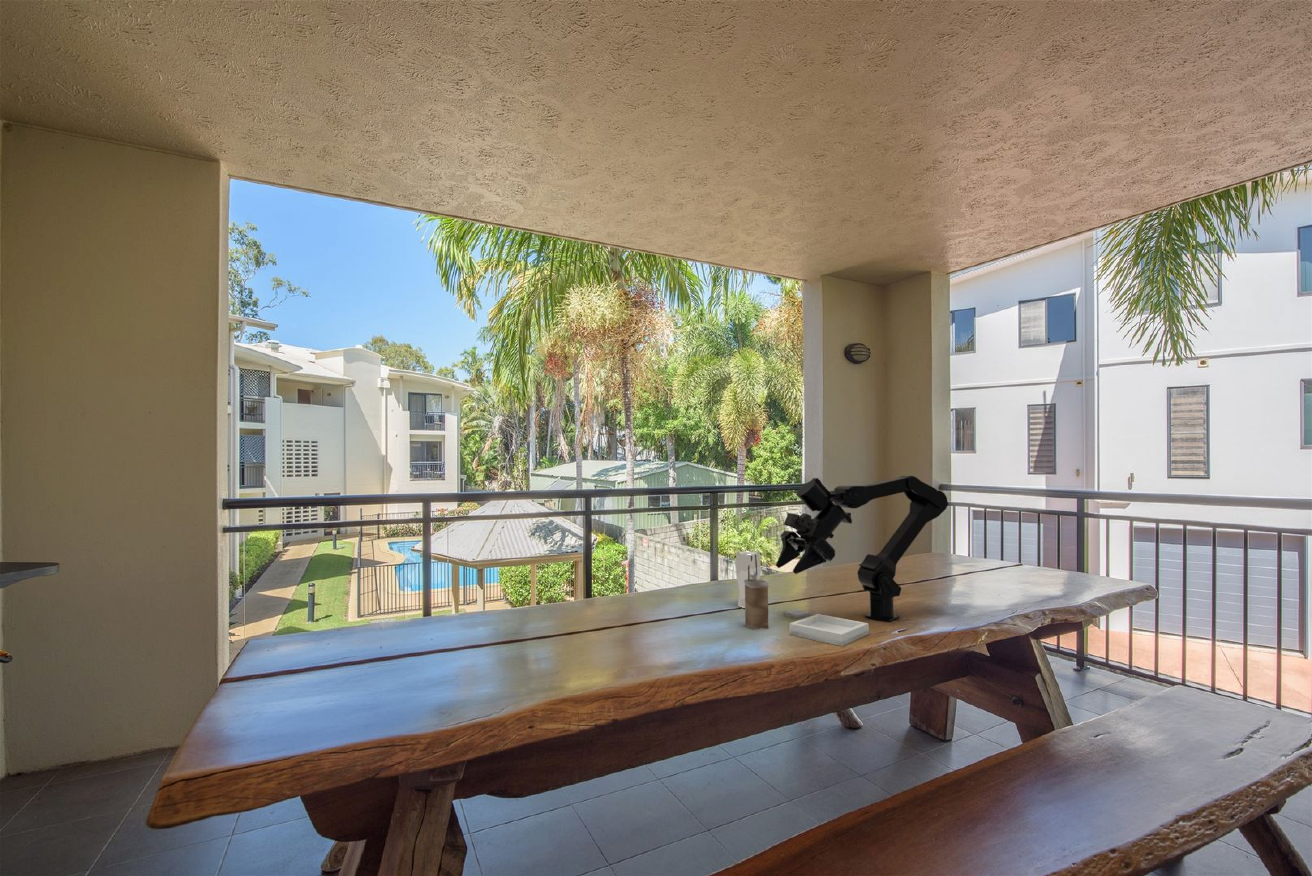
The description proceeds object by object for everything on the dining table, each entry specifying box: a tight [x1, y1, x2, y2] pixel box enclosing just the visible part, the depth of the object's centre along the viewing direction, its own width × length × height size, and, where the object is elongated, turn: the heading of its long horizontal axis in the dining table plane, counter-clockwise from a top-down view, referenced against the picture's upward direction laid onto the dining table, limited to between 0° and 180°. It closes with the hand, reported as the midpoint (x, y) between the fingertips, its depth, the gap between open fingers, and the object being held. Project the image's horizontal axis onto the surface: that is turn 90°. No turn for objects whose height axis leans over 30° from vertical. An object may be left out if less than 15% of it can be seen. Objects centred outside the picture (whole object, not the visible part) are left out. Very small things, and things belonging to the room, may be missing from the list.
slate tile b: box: [782, 608, 812, 619], centre depth 151 cm, size 5×5×1 cm
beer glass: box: [735, 550, 762, 609], centre depth 161 cm, size 7×7×15 cm
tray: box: [788, 613, 870, 647], centre depth 133 cm, size 13×13×2 cm
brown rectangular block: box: [744, 578, 769, 630], centre depth 140 cm, size 4×4×11 cm
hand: (785, 569), depth 143 cm, fingers open, 9 cm apart
